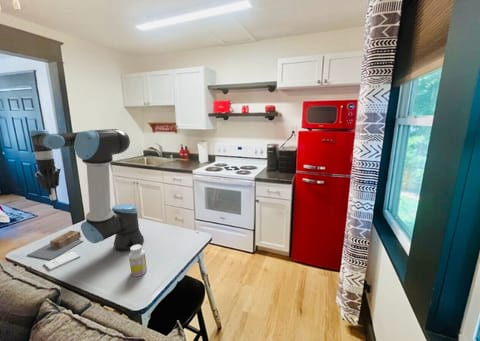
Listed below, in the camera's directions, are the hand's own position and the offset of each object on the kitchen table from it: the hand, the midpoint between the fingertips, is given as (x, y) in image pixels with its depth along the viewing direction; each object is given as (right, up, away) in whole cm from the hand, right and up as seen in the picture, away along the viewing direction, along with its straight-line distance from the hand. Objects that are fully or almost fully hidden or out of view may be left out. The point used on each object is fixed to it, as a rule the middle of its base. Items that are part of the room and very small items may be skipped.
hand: (53, 199), depth 131 cm
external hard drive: (+17, -29, -16) cm, 38 cm away
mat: (+6, -26, -5) cm, 27 cm away
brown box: (+6, -24, -6) cm, 25 cm away
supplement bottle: (+59, -31, -24) cm, 71 cm away
